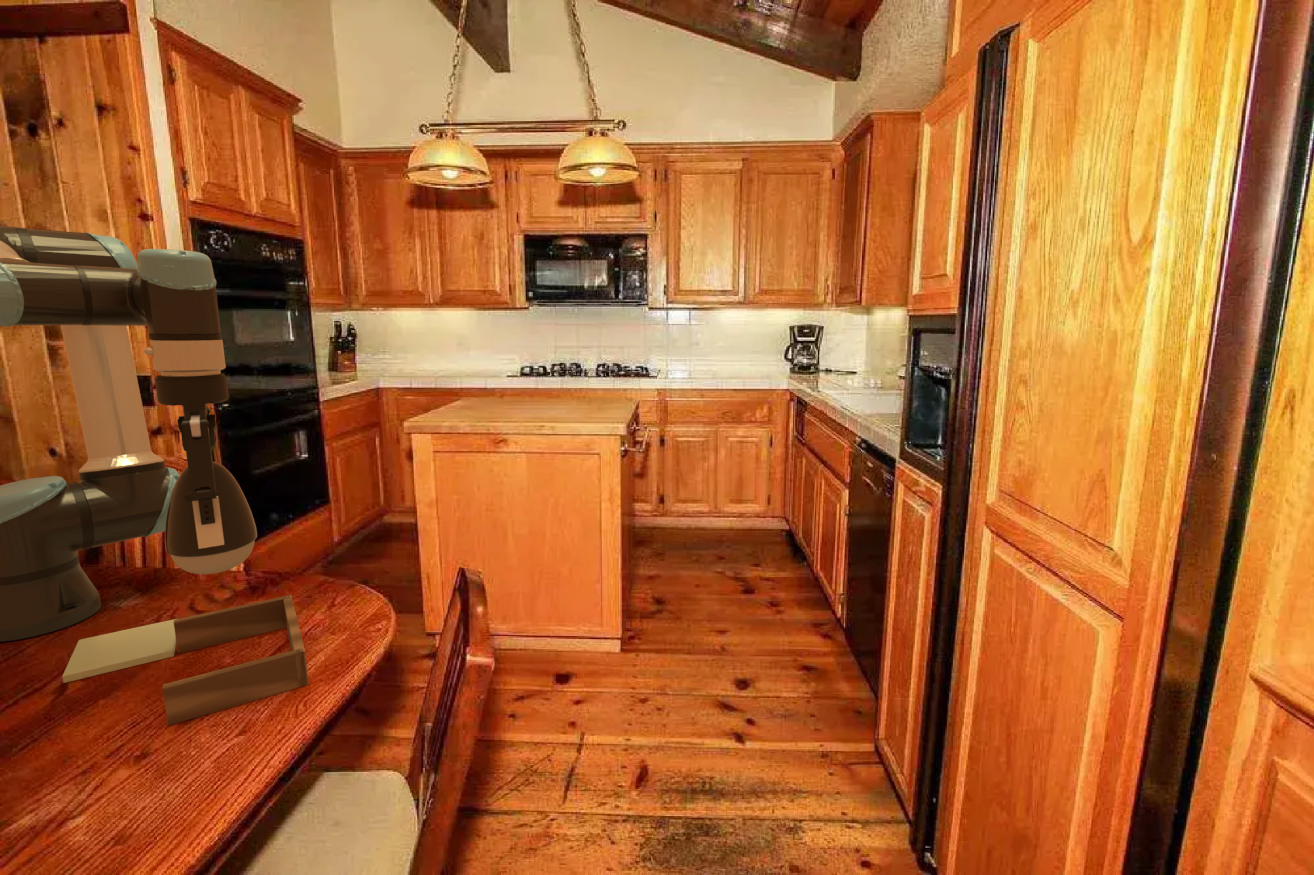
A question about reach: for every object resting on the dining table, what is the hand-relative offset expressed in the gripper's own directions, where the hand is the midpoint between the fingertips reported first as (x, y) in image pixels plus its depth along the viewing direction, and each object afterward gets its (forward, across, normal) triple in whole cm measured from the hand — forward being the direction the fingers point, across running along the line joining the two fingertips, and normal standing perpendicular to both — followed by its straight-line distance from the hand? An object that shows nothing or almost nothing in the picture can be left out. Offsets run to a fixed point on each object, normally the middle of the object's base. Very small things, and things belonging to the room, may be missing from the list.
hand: (212, 534), depth 83 cm
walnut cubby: (+20, 0, +1) cm, 20 cm away
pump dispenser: (+5, 0, 0) cm, 5 cm away
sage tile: (+21, -14, -13) cm, 28 cm away
